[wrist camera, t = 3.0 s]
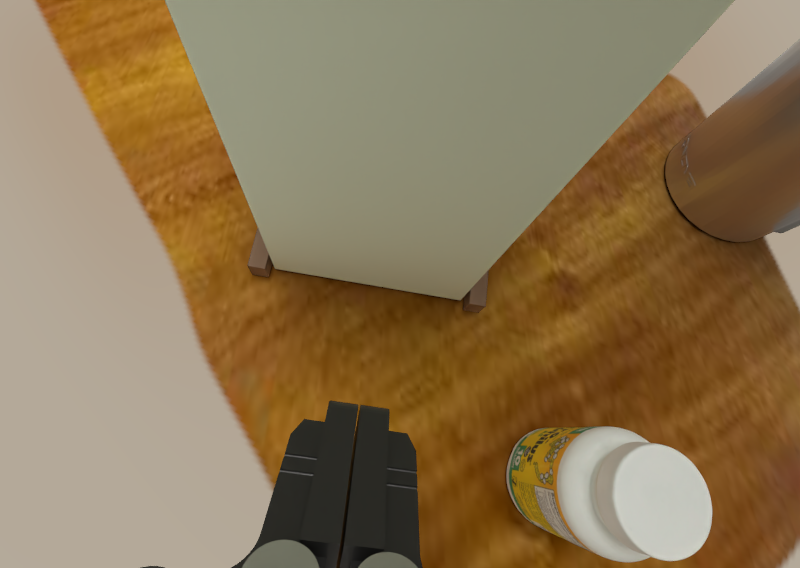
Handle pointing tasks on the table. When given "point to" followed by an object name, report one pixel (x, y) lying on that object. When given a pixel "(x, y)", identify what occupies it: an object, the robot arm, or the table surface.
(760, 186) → the robot arm
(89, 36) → the table surface
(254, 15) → the hood
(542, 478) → the supplement bottle
